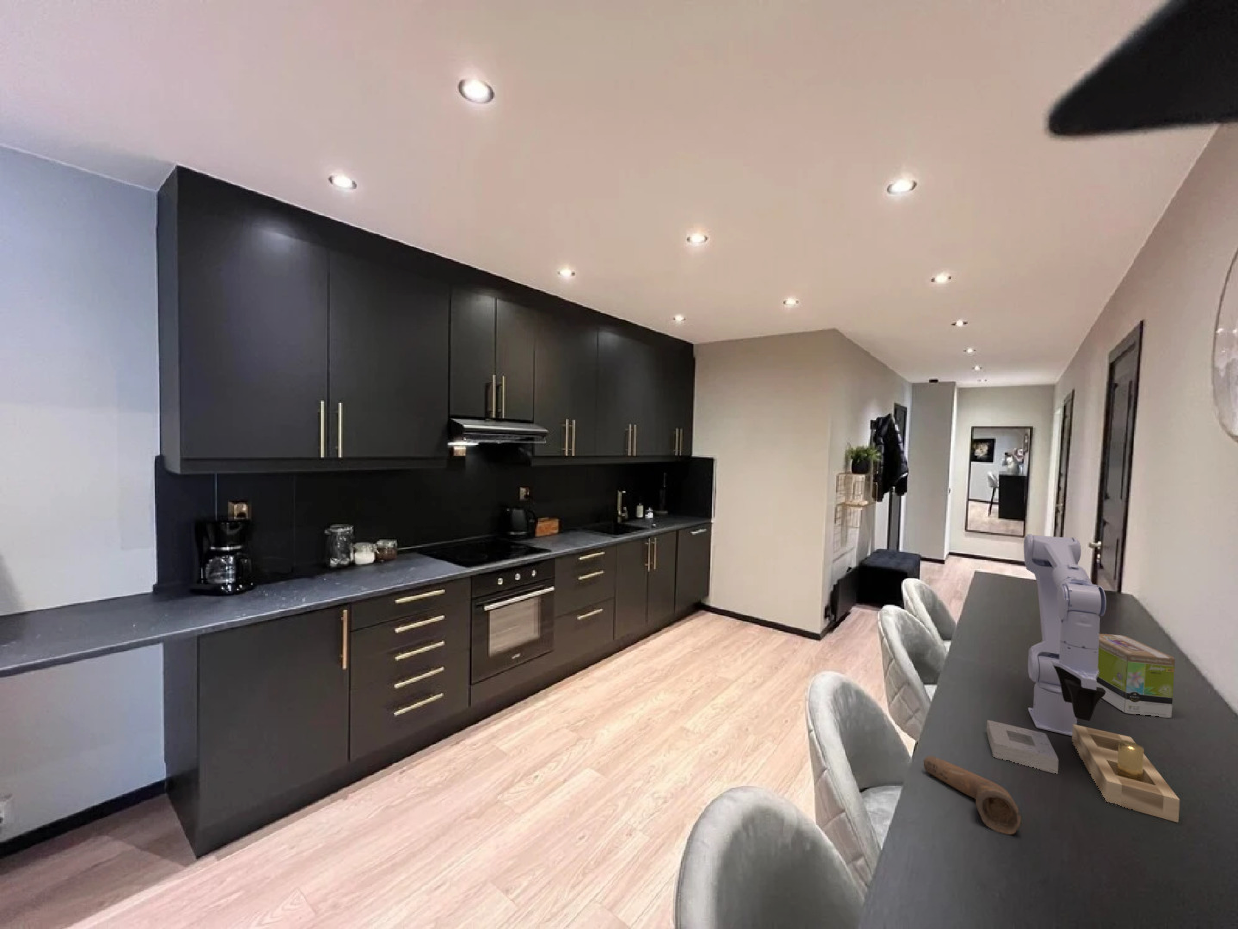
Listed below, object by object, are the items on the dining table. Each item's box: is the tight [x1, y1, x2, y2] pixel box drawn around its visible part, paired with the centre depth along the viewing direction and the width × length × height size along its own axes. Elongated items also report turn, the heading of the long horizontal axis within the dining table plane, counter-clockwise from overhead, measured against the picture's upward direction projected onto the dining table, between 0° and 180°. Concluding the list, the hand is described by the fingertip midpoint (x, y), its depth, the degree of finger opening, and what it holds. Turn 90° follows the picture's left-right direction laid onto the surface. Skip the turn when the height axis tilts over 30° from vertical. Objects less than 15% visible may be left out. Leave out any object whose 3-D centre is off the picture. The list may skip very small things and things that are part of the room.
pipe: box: [923, 755, 1022, 835], centre depth 88 cm, size 6×17×10 cm
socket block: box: [986, 719, 1059, 775], centre depth 102 cm, size 10×10×3 cm
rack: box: [1071, 724, 1181, 823], centre depth 95 cm, size 21×9×4 cm, turn 150°
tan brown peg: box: [1117, 740, 1145, 782], centre depth 90 cm, size 3×3×9 cm
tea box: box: [1096, 633, 1176, 719], centre depth 124 cm, size 15×10×15 cm
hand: (1076, 710), depth 99 cm, fingers open, 7 cm apart
